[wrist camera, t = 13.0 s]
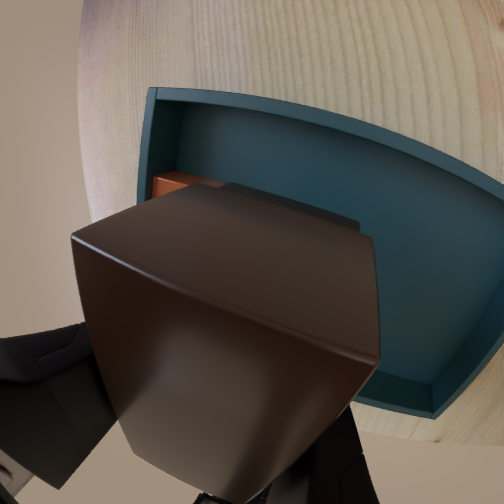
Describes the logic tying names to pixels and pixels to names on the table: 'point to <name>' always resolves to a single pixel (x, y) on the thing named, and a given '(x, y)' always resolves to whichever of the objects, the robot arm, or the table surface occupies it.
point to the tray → (362, 223)
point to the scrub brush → (228, 328)
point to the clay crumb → (178, 182)
